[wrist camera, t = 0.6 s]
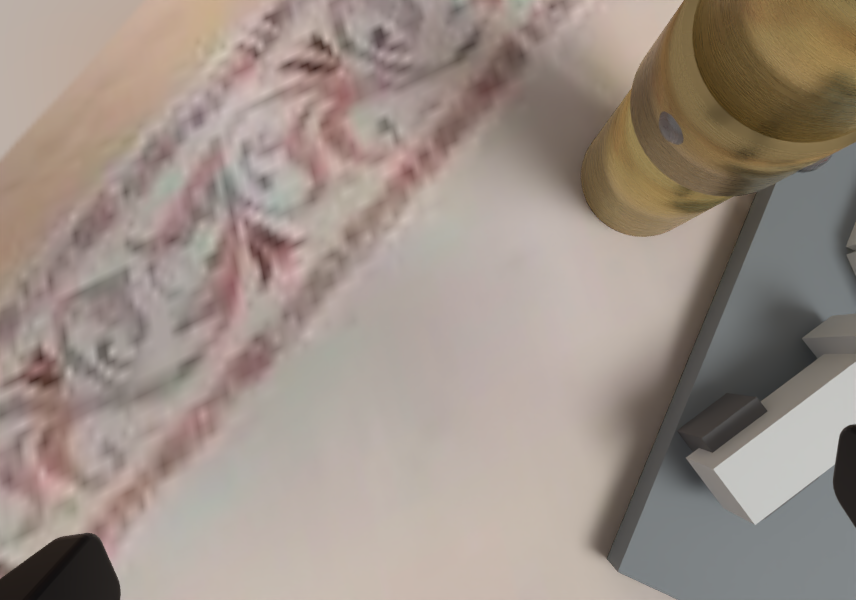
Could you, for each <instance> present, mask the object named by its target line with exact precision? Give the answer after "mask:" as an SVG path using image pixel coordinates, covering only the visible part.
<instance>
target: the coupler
mask: <svg viewBox="0 0 856 600" xmlns="http://www.w3.org/2000/svg"><path fill="white" fill-rule="evenodd" d="M855 142H856V0H684V1H683V3H682V4H681V5H680V7H679V8H678V10H677V11H676V13H675V14H674V15H673V17H672V18H671V20H670V21H669V23H668V24H667V26H666V27H665V28H664V30H663V31H662V33H661V34H660V36H659V37H658V38H657V40H656V41H655V43H654V44H653V46H652V47H651V49H650V50H649V51H648V53H647V54H646V56H645V57H644V59H643V61H642V62H641V64H640V66H639V68H638V70H637V72H636V75H635V78H634V81H633V85H632V88H631V90H630V91H629V93H628V94H627V95H626V97H625V98H624V99H623V101H622V102H621V104H620V105H619V106H618V108H617V109H616V110H615V112H614V113H613V115H612V116H611V117H610V119H609V120H608V121H607V123H606V124H605V126H604V127H603V128H602V130H601V131H600V132H599V134H598V135H597V137H596V138H595V139H594V141H593V142H592V143H591V145H590V147H589V148H588V150H587V152H586V154H585V157H584V160H583V163H582V169H581V183H582V189H583V193H584V196H585V198H586V201H587V203H588V205H589V206H590V208H591V209H592V211H593V212H594V214H595V215H596V216H597V217H598V218H599V219H600V220H601V221H602V222H604V223H605V224H606V225H607V226H609V227H611V228H612V229H614V230H616V231H619V232H621V233H624V234H627V235H632V236H641V237H647V236H655V235H659V234H662V233H665V232H668V231H670V230H672V229H674V228H676V227H677V226H679V225H681V224H683V223H685V222H687V221H689V220H690V219H692V218H694V217H696V216H698V215H700V214H702V213H703V212H705V211H707V210H709V209H711V208H713V207H715V206H716V205H718V204H720V203H722V202H724V201H726V200H728V199H729V198H731V197H733V196H741V195H746V194H750V193H754V192H757V191H760V190H762V189H765V188H767V187H769V186H771V185H773V184H775V183H777V182H779V181H781V180H783V179H784V178H786V177H788V176H790V175H792V174H794V173H796V172H799V173H805V172H811V171H815V170H817V169H819V168H821V167H822V166H824V165H825V164H826V163H827V162H828V161H829V160H830V158H831V157H832V155H833V153H835V152H837V151H839V150H841V149H843V148H845V147H847V146H849V145H851V144H853V143H855Z"/></svg>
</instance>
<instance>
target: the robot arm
mask: <svg viewBox="0 0 856 600" xmlns="http://www.w3.org/2000/svg"><path fill="white" fill-rule="evenodd" d="M833 489H834V492H835V495H836V498H837V500H838V502H839V503H840V505H841V507H842V508H843V510H844V511H845V513H846V514H847V516H848V517H849V519H850V520H851V522H852V523H853V525H854V526H855V528H856V424H852V425H849V426H847V427H845V428H844V429H843V430H842V431H841V433H840V436H839V441H838V447H837V454H836V460H835V467H834V473H833ZM120 595H121V593H120V584H119V580H118V578H117V576H116V573H115V571H114V569H113V566H112V564H111V562H110V560H109V557H108V555H107V553H106V551H105V548H104V546H103V544H102V542H101V540H100V538H99V537H98V536H96V535H95V534H92V533H84V534H76V535H69V536H63V537H59V538H57V539H55V540H53V541H52V542H50V543H49V544H48V545H46V546H45V547H43V548H42V549H41V550H39V551H38V552H37V553H35V554H34V555H33V556H31V557H30V558H28V559H27V560H26V561H24V562H23V563H22V564H20V565H19V566H17V567H16V568H15V569H13V570H12V571H11V572H9V573H8V574H6V575H5V576H4V577H2V578H1V579H0V600H120Z"/></svg>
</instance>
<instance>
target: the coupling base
mask: <svg viewBox="0 0 856 600" xmlns="http://www.w3.org/2000/svg"><path fill="white" fill-rule="evenodd" d="M852 424H856V142H855V143H853V144H851V145H849V146H847V147H845V148H843V149H841V150H839V151H837V152H835V153H833V155H832V157H831V158H830V160H829V161H828V162H827V163H826V164H825V165H824V166H822V167H821V168H819V169H817V170H815V171H811V172H805V173H799V172H796V173H794V174H792V175H790V176H788V177H786V178H784V179H783V180H781V181H779V182H777V183H775V184H773V185H771V186H769V187H767V188H765V189H762V190H760V191H757V193H756V196H755V198H754V201H753V203H752V206H751V208H750V211H749V213H748V215H747V218H746V220H745V223H744V225H743V228H742V230H741V233H740V235H739V237H738V240H737V242H736V245H735V247H734V250H733V252H732V255H731V257H730V259H729V262H728V264H727V267H726V269H725V272H724V274H723V277H722V279H721V281H720V284H719V286H718V289H717V291H716V294H715V296H714V299H713V301H712V303H711V306H710V308H709V311H708V313H707V316H706V318H705V321H704V323H703V325H702V328H701V330H700V333H699V335H698V338H697V340H696V342H695V345H694V347H693V350H692V352H691V355H690V357H689V360H688V362H687V364H686V367H685V369H684V372H683V374H682V377H681V379H680V382H679V384H678V386H677V389H676V391H675V394H674V396H673V399H672V401H671V404H670V406H669V408H668V411H667V413H666V416H665V418H664V421H663V423H662V426H661V428H660V430H659V433H658V435H657V438H656V440H655V443H654V445H653V448H652V450H651V452H650V455H649V457H648V460H647V462H646V465H645V467H644V470H643V472H642V474H641V477H640V479H639V482H638V484H637V487H636V489H635V491H634V494H633V496H632V499H631V501H630V504H629V506H628V509H627V511H626V513H625V516H624V518H623V521H622V523H621V526H620V528H619V531H618V533H617V535H616V538H615V540H614V543H613V545H612V548H611V550H610V553H609V555H608V557H607V560H608V561H609V562H610V563H611V564H612V566H613V567H614V568H615V569H616V570H617V571H618V572H619V573H621V574H623V575H626V576H628V577H630V578H632V579H634V580H636V581H639V582H641V583H643V584H645V585H647V586H649V587H652V588H654V589H656V590H658V591H660V592H662V593H665V594H667V595H669V596H671V597H673V598H675V599H678V600H856V528H855V526H854V525H853V523H852V522H851V520H850V519H849V517H848V516H847V514H846V513H845V511H844V510H843V508H842V507H841V505H840V503H839V502H838V500H837V498H836V495H835V492H834V489H833V473H834V467H835V460H836V454H837V447H838V441H839V436H840V433H841V431H842V430H843V429H844V428H845V427H847V426H849V425H852Z"/></svg>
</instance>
